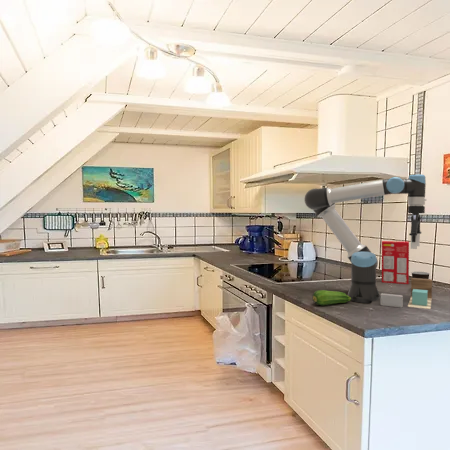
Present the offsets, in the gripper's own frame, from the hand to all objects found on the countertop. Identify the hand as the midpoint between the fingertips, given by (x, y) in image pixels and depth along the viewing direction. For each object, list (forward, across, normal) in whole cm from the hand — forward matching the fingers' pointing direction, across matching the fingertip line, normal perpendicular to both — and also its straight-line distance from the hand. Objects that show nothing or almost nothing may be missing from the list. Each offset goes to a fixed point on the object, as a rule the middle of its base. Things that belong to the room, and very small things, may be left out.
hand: (415, 247), depth 182 cm
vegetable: (+27, -32, +32) cm, 53 cm away
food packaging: (+26, +34, +14) cm, 45 cm away
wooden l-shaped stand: (+26, -12, -4) cm, 29 cm away
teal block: (+24, -16, -4) cm, 30 cm away
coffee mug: (+26, +16, -1) cm, 30 cm away
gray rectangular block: (+26, -35, +6) cm, 44 cm away
